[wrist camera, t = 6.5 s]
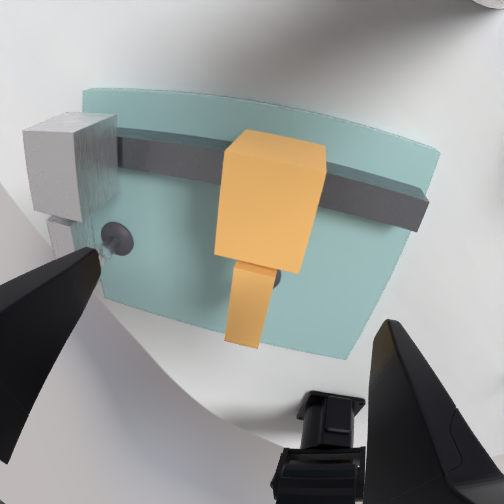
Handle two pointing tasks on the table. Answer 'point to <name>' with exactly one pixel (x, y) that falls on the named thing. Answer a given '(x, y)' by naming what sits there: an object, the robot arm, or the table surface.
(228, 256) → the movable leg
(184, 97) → the board
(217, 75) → the table surface
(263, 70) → the table surface
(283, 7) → the table surface
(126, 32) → the table surface
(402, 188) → the rail
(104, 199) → the fixed leg
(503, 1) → the water bottle
